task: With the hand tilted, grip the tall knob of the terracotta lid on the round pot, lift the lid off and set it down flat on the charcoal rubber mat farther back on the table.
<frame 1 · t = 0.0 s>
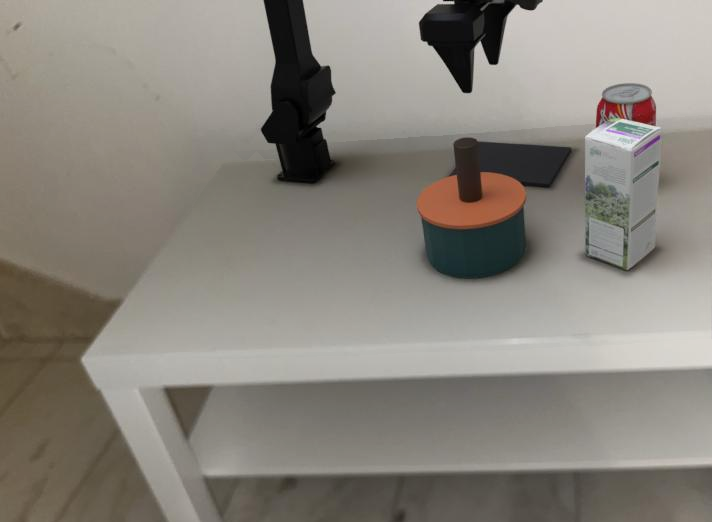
hand: (481, 78, 92), 15 cm above the table, tool pointing down, fingers open, 9 cm apart
syrup box: (619, 254, 86), on the table
soda can: (623, 185, 98), on the table
round pot: (476, 250, 89), on the table
lid: (471, 201, 85), point 6 cm above the table, touching round pot
mat: (511, 164, 106), on the table
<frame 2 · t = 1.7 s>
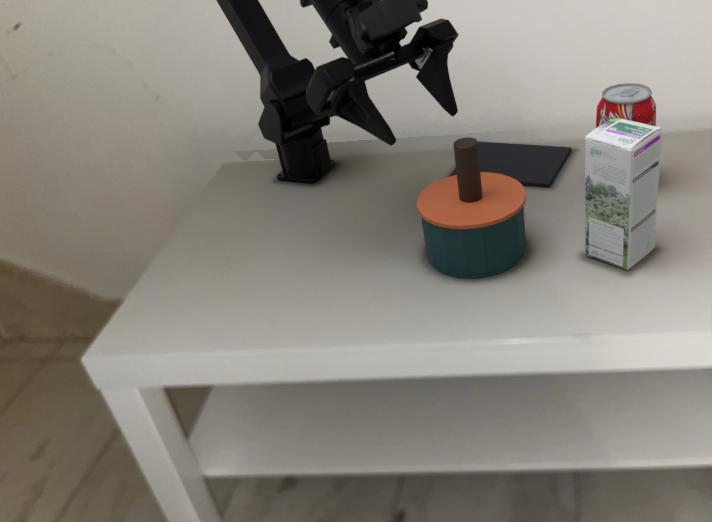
hand: (425, 128, 85), 13 cm above the table, tool tilted 45°, fingers open, 9 cm apart
nothing on the table moved.
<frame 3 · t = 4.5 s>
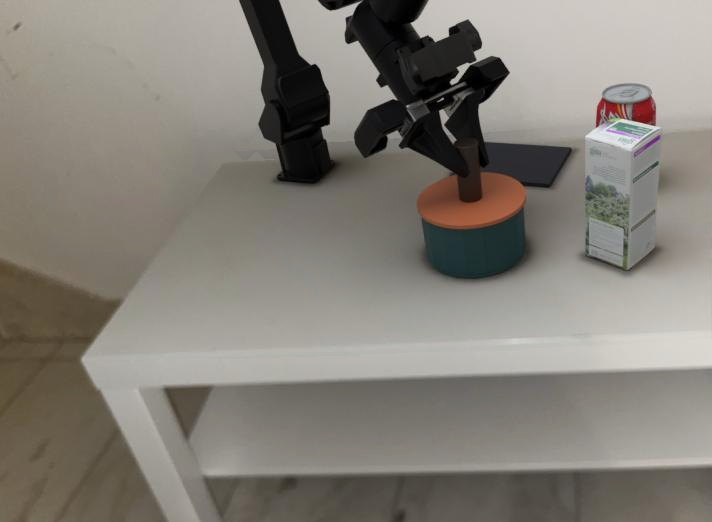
hand: (476, 171, 82), 11 cm above the table, tool tilted 45°, fingers closed on lid, 2 cm apart
lid: (471, 201, 85), point 6 cm above the table, touching gripper, round pot
everything else where it was.
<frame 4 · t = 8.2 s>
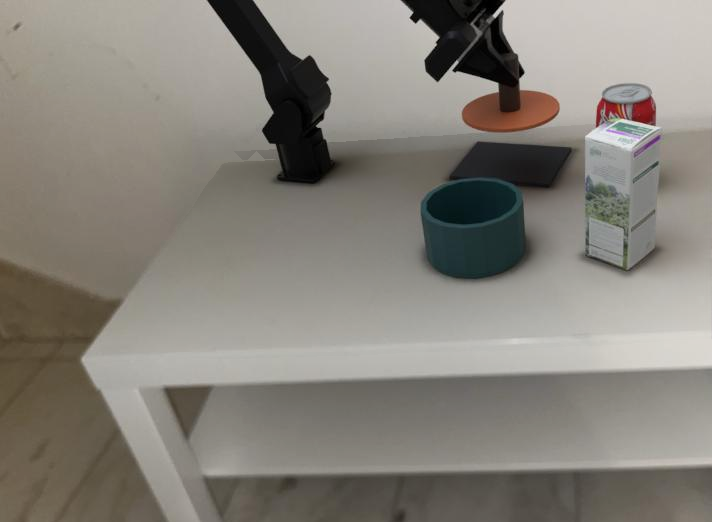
hand: (519, 80, 93), 14 cm above the table, tool tilted 45°, fingers closed on lid, 2 cm apart
lid: (510, 112, 96), point 9 cm above the table, touching gripper
everything else where it was.
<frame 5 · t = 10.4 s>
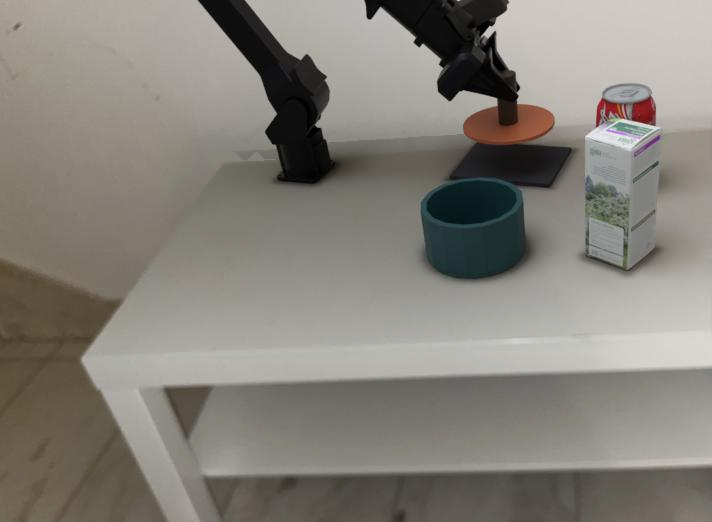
hand: (517, 95, 100), 10 cm above the table, tool tilted 45°, fingers closed on lid, 2 cm apart
lid: (508, 125, 102), point 6 cm above the table, touching gripper
everything else where it was.
when the fingers open (5 cm above the table, at t = 12.0 s): lid stays where it is, resting on mat.
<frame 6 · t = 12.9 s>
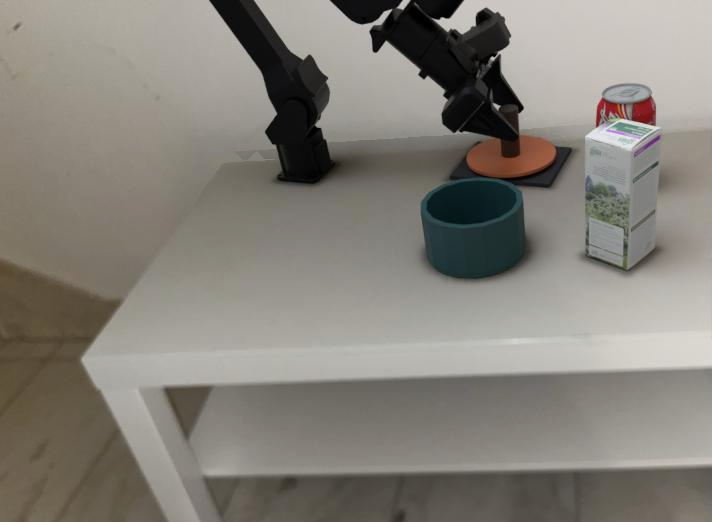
hand: (519, 124, 102), 6 cm above the table, tool tilted 45°, fingers open, 9 cm apart
lid: (511, 157, 105), point 1 cm above the table, touching mat
everything else where it was.
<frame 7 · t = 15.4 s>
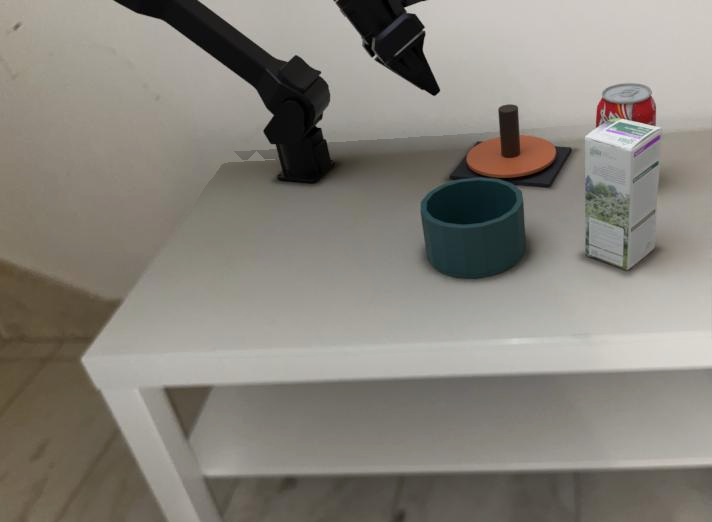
hand: (431, 90, 100), 12 cm above the table, tool tilted 30°, fingers open, 9 cm apart
nothing on the table moved.
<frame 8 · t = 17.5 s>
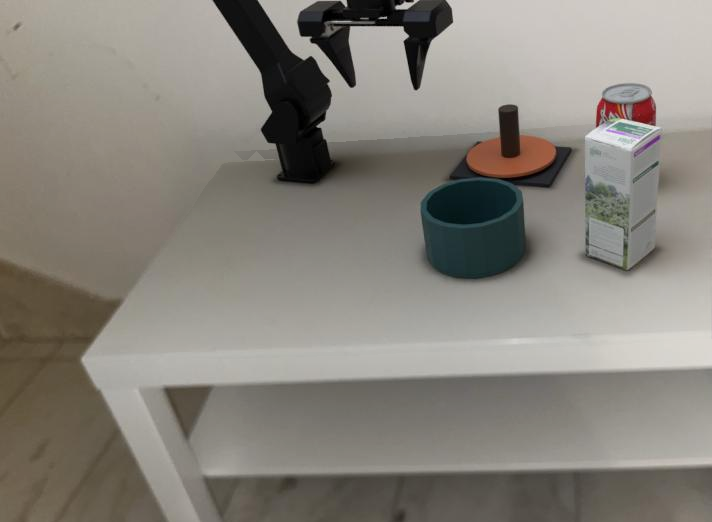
hand: (384, 87, 98), 13 cm above the table, tool pointing down, fingers open, 9 cm apart
nothing on the table moved.
at the end: lid inside the target area on the mat (0.0 cm from its centre), point 1.1 cm above the mat's base; lid tilted 0°; lid touching mat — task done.
